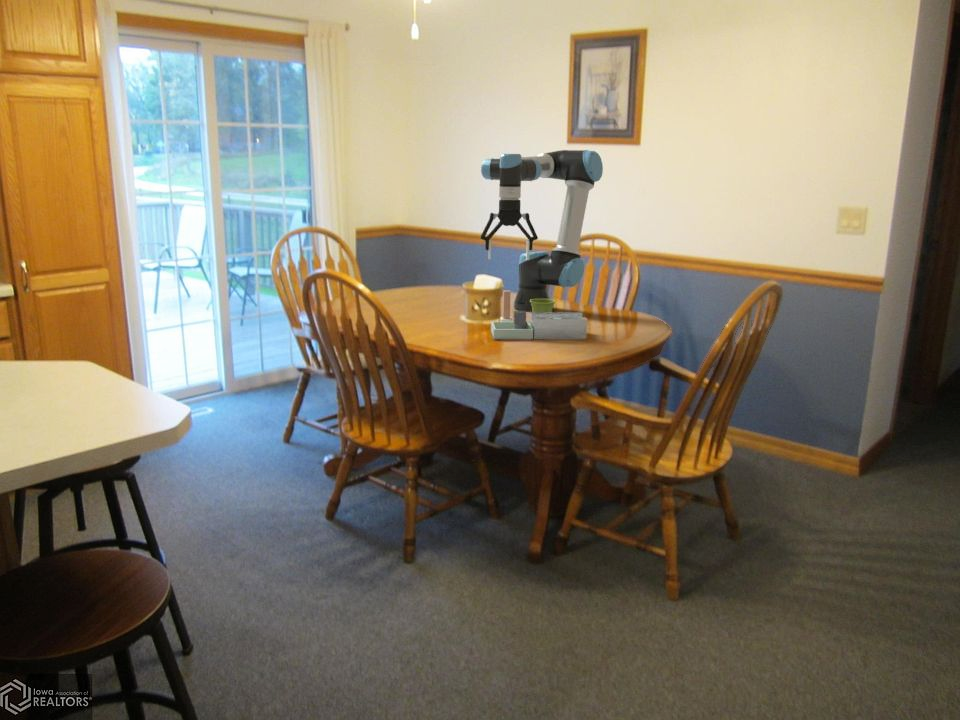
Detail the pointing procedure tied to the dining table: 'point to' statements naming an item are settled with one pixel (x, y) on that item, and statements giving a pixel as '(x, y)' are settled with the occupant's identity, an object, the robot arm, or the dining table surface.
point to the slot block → (558, 325)
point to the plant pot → (542, 305)
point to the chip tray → (510, 331)
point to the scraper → (506, 307)
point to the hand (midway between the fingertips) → (508, 259)
